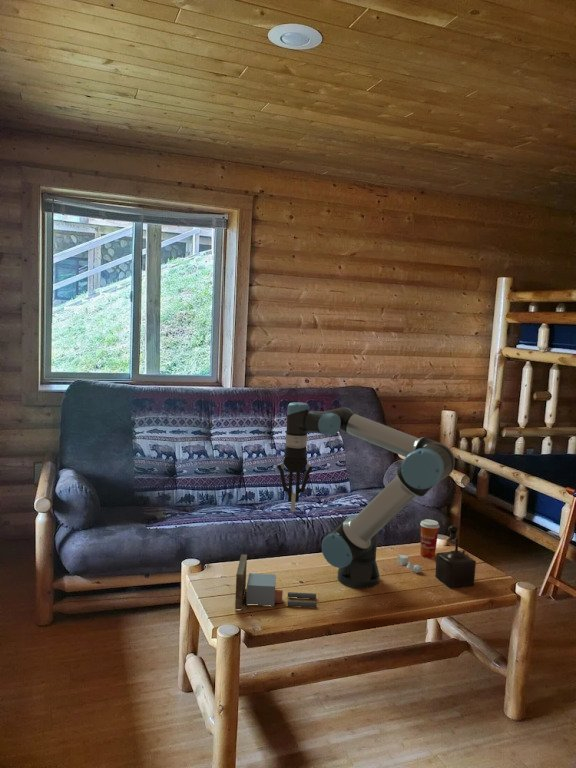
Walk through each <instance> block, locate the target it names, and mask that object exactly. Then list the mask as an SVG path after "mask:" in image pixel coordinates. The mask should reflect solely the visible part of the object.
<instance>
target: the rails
mask: <svg viewBox="0 0 576 768" xmlns="http://www.w3.org/2000/svg"><path fill="white" fill-rule="evenodd" d="M288 597H297V598H309V599H308V600H315V599H316V600H317V593H313V592H311V593H310V592H308V593H307V592H293V591H288V592H287V598H288ZM308 600H290V599H289V600H288V599H287V603H286V604H287V605H288V606H287V605H286V606H287V607H289V606H301V607H300V608H309V607H315V608H314V609H317V607H318V606H317V605H318V601H308Z"/></svg>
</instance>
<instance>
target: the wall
mask: <svg viewBox="0 0 576 768" xmlns="http://www.w3.org/2000/svg"><path fill="white" fill-rule="evenodd" d="M247 559H248V554H241V553H240V558H239V562H238V567H237V570H236V577H235V597H234V598H235V599H234V600H235V601H234V610H235V609H241V608H243V605H242V603H243V604H244V599H243V598H245V594H244V592H245V593H246V589H245V587H246V588H247V565H248V564H247V563H248V562H247V561H248V560H247Z"/></svg>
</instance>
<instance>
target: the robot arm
mask: <svg viewBox="0 0 576 768" xmlns="http://www.w3.org/2000/svg"><path fill="white" fill-rule="evenodd" d="M286 412H287V413H286V430H285V431H286V432H285V433H286V434H285V451H284V459H283V460H282V462H281V463H280V462H279V463H277V466H276V467H277V469H278V471H279V474H280V479H281V484H282V489H283V492H286V493H288V496H287V501H288V503H290V513H295V512H296V503H299V499H300V494H301V493H304V492H305V489H306V486H307V482H308V480H309V476H310V473H311V472H312V471H313V468H314V467H313V465H312V464H310V463H308V460H307V447H306V446H307V444H308V443H307V442H308V432H310V433H313V434H314V433H316V434H321V435H324V436H335V435H337V434H338V432H339V431H341V432H343V433H344V434H348V435H351V436H353V437H355V438H358V439H360V440H363V441H366V442H368V443H370V444H372V445H375V446H378V447H379V448H380V447H381V448H383V449H385V450H387V451H389V452H392V453H394V454H396V455H399V456H402V457H404V459H403V461H402V463H401V464H400V465H399V467H397V468H396V470H395V473H396V476H395V477H394V478H393V479H392V480H391V481H390V482H388V484H387V485H386V486H385V487H383V489H382V490H381V491H379V493H378V494H377V495H376V496H375V497H374V498H373V499H372V500H370V501H369V502H368V504H367V505H366V506H365V507H364V508H363V509H362V510H360V511H359V512H358V513H357V514H350V515H347V516H346V517H345V520H344V521H343V522H342V523H340V525H338V526H337V528H335V529H334V531H332V532H331V533H329V534H326V535H325V537H324V538H323V539H322V542H321V553H322V556H323V557H324V560H325V561H326V562H327V563H328V564H330V565H331V566H332V567H334V568H338V570H337V579H338V581H339V582H340V583H341V584H343V585H345V586H348V587H352V588H357V589H369V588H374V587H376V586H378V585H379V584H380V572H379V567H378V564H377V549H378V548H377V547H378V534H379V533H378V532H380V530H382V529H383V528H384V527H385V526H386V525H387V524H388V523H389V522H390V521H392V519H393V518H394V517H396V515H398V513H400V512H401V511H402V510H403V509H404V508H405V507H407V505H408V504H409V503H410V502H411V501H413V499H414V498H416V497H424V496H425V495H427V494H428V492H429V491H431V490H432V489H433V488H434V487H435V486H437V484H438V483H440V482H441V481H443V480H444V479H446V478H447V477H449V476H450V475H451V473H452V472H453V470H454V469H455V466H456V465H455V464H456V459H455V455H454V454H453V451H452V450H451V449H450V448H449V447H448V446H447V445H445V444H443V443H441V442H438V441H436V440H432V439H430V438H427V437H424V436H422V437H420V438H418V437H416V436H414V435H411V434H409V433H406V432H403V431H401V430H398V429H395V428H392V427H390V426H388V425H386V424H382V423H380V422H377V421H374V420H372V419H369V418H367V417H364V416H361V415H359V414H356V413H354V412H353V410H351V409H350V408H349V407H337V408H334V409H328V410H324V411H319V410H311V409H310V407H309V404H308V403H306V402H300V401H299V402H298V401H297V402H295V401H294V402H293V401H292V402H290V403H289V404H288V405H287V411H286ZM285 468H286V470H287V471H288V472H289V474H288V475H289V476H288V487H287V481H286V476H285V470H284V469H285ZM304 469H305V473H304V477H303V480H302V484H301V486H300V483H301V482H300V481H301V479H300V478H301V472H302V471H303V470H304ZM294 473H296V475H295V476H296V478H295V491H293V475H294Z"/></svg>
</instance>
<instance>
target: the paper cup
mask: <svg viewBox="0 0 576 768" xmlns="http://www.w3.org/2000/svg"><path fill="white" fill-rule="evenodd" d="M419 525H420V556H421V557H423V558H426V559H432V558H435V555H436V549H437V541H438V534H439V529H440V528H441V527H440V524H439V522H438V521H437V520H434V519H422V520H421V521H420V524H419Z"/></svg>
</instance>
